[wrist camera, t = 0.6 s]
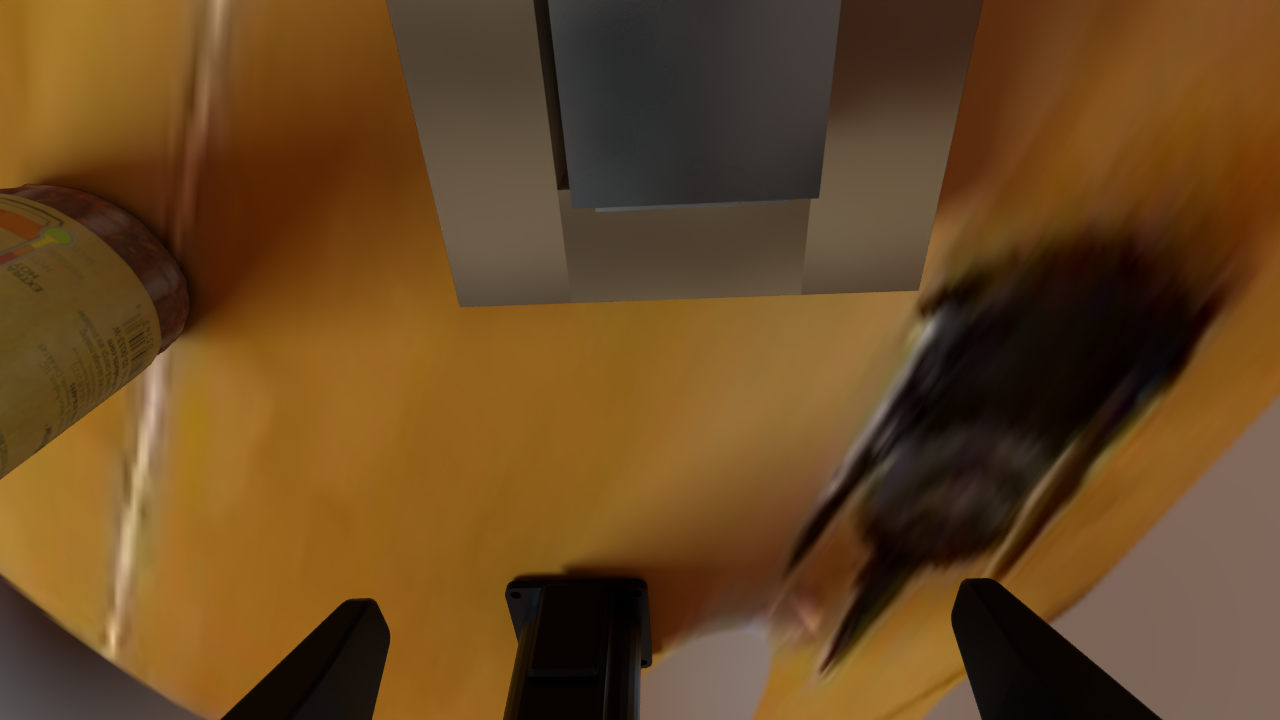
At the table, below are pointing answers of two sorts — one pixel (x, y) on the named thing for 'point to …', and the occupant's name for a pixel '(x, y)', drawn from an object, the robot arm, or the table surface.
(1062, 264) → the table surface
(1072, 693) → the robot arm
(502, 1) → the stand base
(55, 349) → the sauce bottle
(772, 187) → the column
